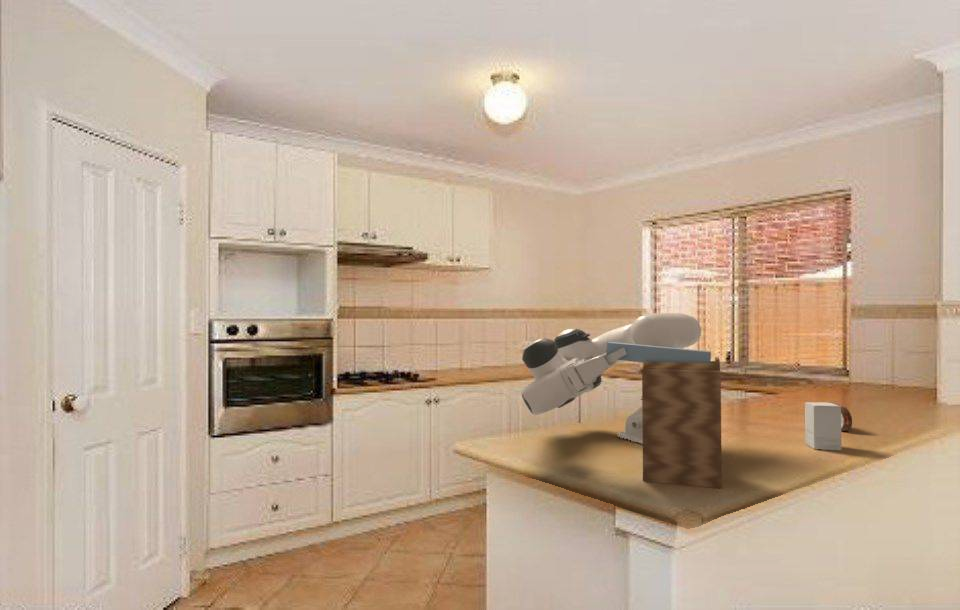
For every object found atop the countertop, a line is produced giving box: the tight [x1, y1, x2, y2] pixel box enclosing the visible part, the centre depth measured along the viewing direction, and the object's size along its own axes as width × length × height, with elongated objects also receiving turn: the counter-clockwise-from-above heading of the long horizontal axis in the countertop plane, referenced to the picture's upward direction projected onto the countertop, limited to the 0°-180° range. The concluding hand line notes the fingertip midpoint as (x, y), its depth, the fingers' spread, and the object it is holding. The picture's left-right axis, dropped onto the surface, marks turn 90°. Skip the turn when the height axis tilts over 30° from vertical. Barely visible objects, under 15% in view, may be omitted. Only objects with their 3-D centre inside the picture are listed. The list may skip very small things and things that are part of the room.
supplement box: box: [804, 401, 842, 451], centre depth 168 cm, size 7×7×13 cm
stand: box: [641, 356, 723, 489], centre depth 139 cm, size 17×14×28 cm
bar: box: [606, 342, 712, 363], centre depth 141 cm, size 24×4×4 cm, turn 70°
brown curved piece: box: [827, 401, 853, 432], centre depth 194 cm, size 15×3×8 cm, turn 179°
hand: (627, 349), depth 143 cm, fingers closed on bar, 4 cm apart
